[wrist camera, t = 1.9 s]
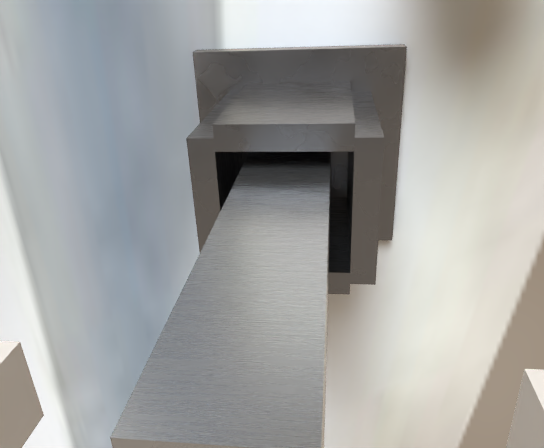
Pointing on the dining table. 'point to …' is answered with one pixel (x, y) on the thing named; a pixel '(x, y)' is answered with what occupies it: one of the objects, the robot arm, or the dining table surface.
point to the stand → (305, 135)
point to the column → (246, 322)
